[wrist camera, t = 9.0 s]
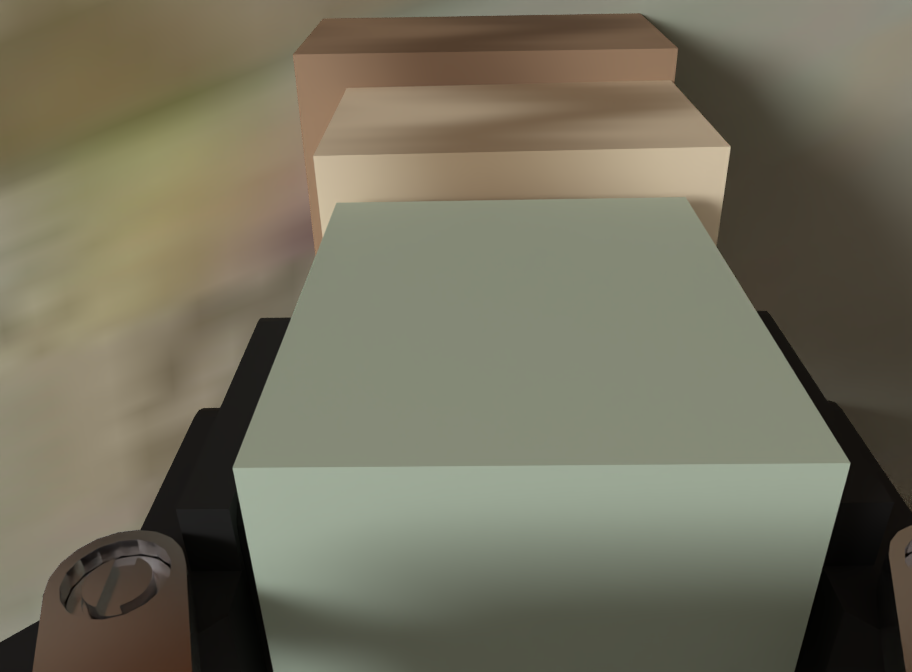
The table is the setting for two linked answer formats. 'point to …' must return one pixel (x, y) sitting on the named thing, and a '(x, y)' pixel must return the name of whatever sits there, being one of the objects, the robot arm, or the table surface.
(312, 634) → the green block
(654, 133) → the birch block
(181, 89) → the table surface
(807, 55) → the table surface
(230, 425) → the robot arm
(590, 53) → the walnut block
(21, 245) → the table surface
